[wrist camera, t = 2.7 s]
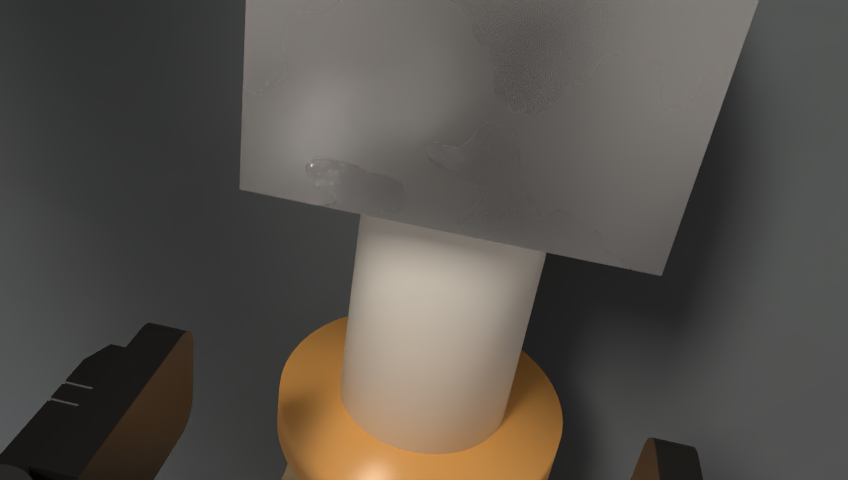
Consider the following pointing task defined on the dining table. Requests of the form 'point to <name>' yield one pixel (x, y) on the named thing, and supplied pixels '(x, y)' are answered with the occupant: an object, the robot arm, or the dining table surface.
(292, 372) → the tube
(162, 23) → the dining table surface
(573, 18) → the grey block
